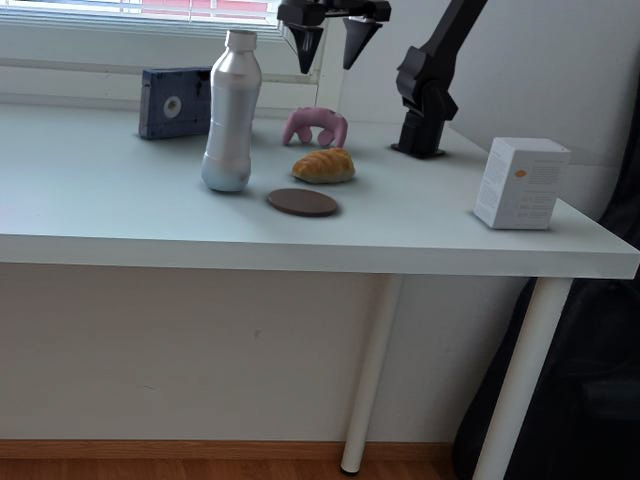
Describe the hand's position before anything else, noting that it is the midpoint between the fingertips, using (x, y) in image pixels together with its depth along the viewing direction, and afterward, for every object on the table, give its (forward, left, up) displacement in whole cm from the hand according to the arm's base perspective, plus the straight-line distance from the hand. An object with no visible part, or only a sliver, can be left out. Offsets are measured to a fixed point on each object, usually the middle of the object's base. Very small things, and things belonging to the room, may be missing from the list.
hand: (325, 71), depth 128 cm
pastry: (+9, +11, -12) cm, 19 cm away
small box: (-2, +35, -12) cm, 37 cm away
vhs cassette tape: (+14, -14, -12) cm, 23 cm away
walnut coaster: (+20, +18, -12) cm, 29 cm away
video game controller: (-1, -1, -12) cm, 12 cm away
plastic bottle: (+26, +9, -12) cm, 30 cm away
